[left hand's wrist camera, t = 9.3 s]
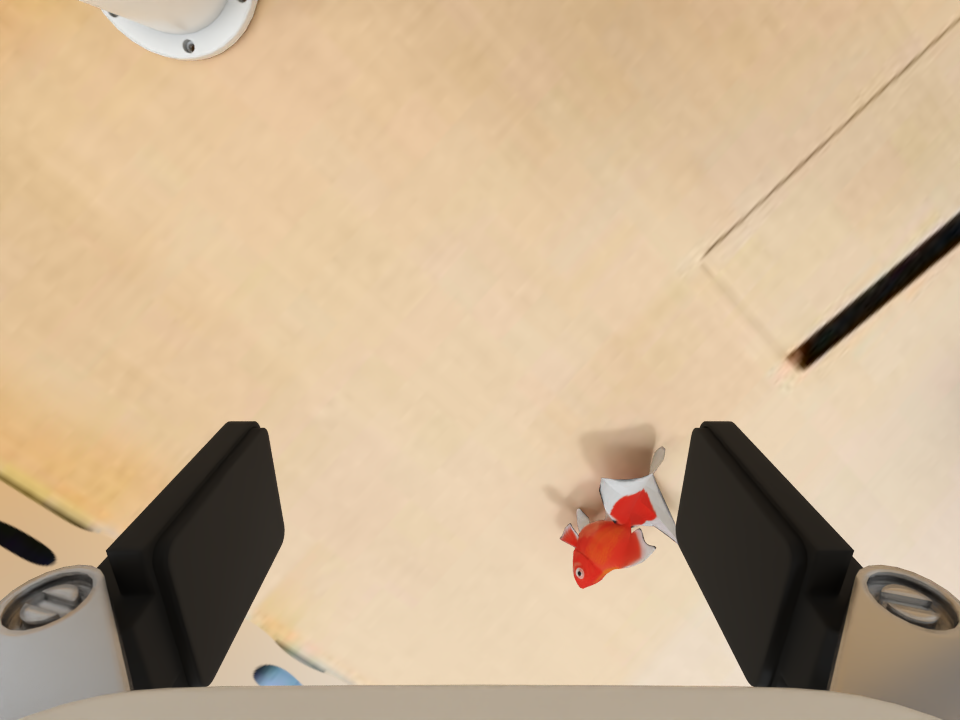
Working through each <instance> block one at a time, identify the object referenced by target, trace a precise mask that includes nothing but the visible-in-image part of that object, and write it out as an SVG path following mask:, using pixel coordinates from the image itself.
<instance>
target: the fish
mask: <svg viewBox="0 0 960 720" xmlns="http://www.w3.org/2000/svg"><path fill="white" fill-rule="evenodd" d="M664 455H665V448H664V447H660V448H659V449H658V450H657V451H656V452H655V454H654V457H653V460H652V464H651V467H650V472H649V475H647V476H645V477H642V478H636V479H629V480H614V479H606V478H601V483H600V488H599V492H600V495H601V498H602V501H603V504H604V507H605V510H606V517H605V520H598V521H594V522H591V523H589V518H588V517H587V515H585V514H584V513H583V512H582V511H581V510H580V509H577V524H578V529H579V532H580V533H579V535H578V534H577V533H576V531H575V530H574V529H573V527H572V525H571V524H568V526H567V527H566V528H565V530H564V532H563V535H562V536H561V537H560V539H561V540H562V541H564V542H566V543H568V544H570V545H571V546H573V547H575V550H574V553H573V574H574V577H575V580H576V582H577V584H578V585H579V587H580V588H582V589H583V588H586V587H588V586H591V585H593V584H596V583H597V582H599V581H600V580H602V578H603V577H604V576H605V575H606V574H607V573H609V572H610V571H612V570H614V569H621V568H627V567H631V566H635V565H637V564H639V563H642V562H643V561H644V560H646V559H647V558H648V557H649V556H650V555H651V554H652V553H653V551H654V550H655V549H656V547H655V546H650V545H648V544H647V543H646V542H645V540H644V537H643V533H642V530H641V529H640V528H639V529H637V530H635V531H634V532H633V533H631V528H632V527H636V526H639V525H642V526H655V527H656V528H657V529H659V530H660V531H662V532H663V533H664V534H666V535H667V536H668V537H670V538H671V539H672V540H673V541H675V542H676V543H677V539H676V530H675V529H676V526H675V522H674V520H673V518H672V516H671V513H670V511H669V509H668V507H667V505H666V502H665V500H664V498H663V496H662V494H661V492H660V489H659V487H658V485H657V483H656V481H655V478H654V475H653V473H654V472H655V471H656V469H657V468H658V467H659V466H660V464H661V462H662V461H663V459H664ZM677 544H678V543H677Z"/></svg>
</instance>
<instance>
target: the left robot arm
mask: <svg viewBox="0 0 960 720" xmlns="http://www.w3.org/2000/svg"><path fill="white" fill-rule="evenodd" d="M79 1H82V2H84V3H87V4H90V5H92V6H95V7H97V8H100V9H101V10H102V12H103V13H104V15H105V16H106V17H107V18H108V19H109V20H110V21H111V22H112V23H113V25H114V26H115V27H116V28H117V29H118V30H119V31H121V32H122V33H123V34H124V35H125V36H127V37H128V38H129V39H130V40H131V41H133V42H135V43H136V44H138V45H140V46H141V47H143V48H145V49H147V50H148V51H151V52H154V53H156V54H159V55H162V56H165V57H169V58H173V59H177V60H190V61H195V60H201V59H207V58H211V57H213V56H215V55H218V54H220V53H222V52H224V51H225V50H227V49H228V48H229V47H231V46H232V45H233V44H235V43H236V41H237V40H238V39H239V38H240V37H241V36H242V34H243V33H244V32H245V31H246V29H247V27H248V25H249V23H250V21H251V19H252V17H253V15H254V11H255V8H256V5H257V1H258V0H246V1H245V2H244V0H79ZM193 45H194V46H195V49H194V51H193V50H192V46H193ZM284 530H285V529H284V522H283V516H282V510H281V504H280V499H279V493H278V487H277V481H276V476H275V470H274V464H273V458H272V453H271V447H270V441H269V435H268V432H267V430H266V429H265V428H260V426H259V424H258V423H257V422H256V421H230V422H227V423H226V424H225V425H224V426H223V427H222V428H221V429H220V430H219V431H218V432H217V433H216V434H215V435H214V436H213V437H212V439H211V440H210V441H209V442H208V443H207V444H206V445H205V446H204V447H203V448H202V449H201V450H200V451H199V452H198V453H197V454H196V456H195V457H194V458H193V459H192V460H191V461H190V462H189V463H188V464H187V465H186V466H185V467H184V468H183V469H182V470H181V471H180V472H179V474H178V475H177V476H176V477H175V478H174V479H173V480H172V481H171V482H170V483H169V484H168V485H167V486H166V487H165V488H164V489H163V491H162V492H161V493H160V494H159V495H158V496H157V497H156V498H155V499H154V500H153V501H152V502H151V503H150V504H149V505H148V506H147V508H146V509H145V510H144V511H143V512H142V513H141V514H140V515H139V516H138V517H137V518H136V519H135V520H134V521H133V522H132V523H131V524H130V526H129V527H128V528H127V529H126V530H125V531H124V532H123V533H122V534H121V535H120V536H119V537H118V538H117V539H116V540H115V541H114V543H113V544H112V545H111V546H110V547H109V548H108V549H107V550H106V552H107V555H108V556H107V558H106V559H105V560H104V561H103V562H102V563H101V564H100V565H99V566H98V567H97V568H95V567H93V566H88V565H75V566H68V567H63V568H59V569H56V570H53V571H49V572H46V573H44V574H42V575H40V576H37V577H35V578H33V579H31V580H29V581H27V582H26V583H24V584H22V585H21V586H19V587H17V588H16V589H14V590H13V591H11V592H10V593H9V594H8V595H7V596H6V597H4V598H3V599H2V600H1V601H0V720H960V601H959V600H958V599H957V598H956V597H954V596H953V595H952V594H951V593H950V592H949V591H947V590H946V589H944V588H943V587H941V586H939V585H938V584H936V583H934V582H933V581H931V580H929V579H927V578H925V577H923V576H920V575H918V574H916V573H914V572H911V571H907V570H904V569H901V568H898V567H892V566H885V565H872V566H867V567H865V568H863V567H862V566H861V565H860V564H859V563H858V562H857V561H856V560H855V559H854V558H853V556H852V555H853V552H854V550H853V549H852V548H851V547H850V546H849V545H848V544H847V543H846V541H845V540H844V539H843V538H842V537H841V536H840V535H839V534H838V533H837V532H836V531H835V530H834V529H833V528H832V527H831V526H830V524H829V523H828V522H827V521H826V520H825V519H824V518H823V517H822V516H821V515H820V514H819V513H818V512H817V511H816V510H815V509H814V508H813V506H812V505H811V504H810V503H809V502H808V501H807V500H806V499H805V498H804V497H803V496H802V495H801V494H800V493H799V492H798V491H797V489H796V488H795V487H794V486H793V485H792V484H791V483H790V482H789V481H788V480H787V479H786V478H785V477H784V476H783V475H782V474H781V472H780V471H779V470H778V469H777V468H776V467H775V466H774V465H773V464H772V463H771V462H770V461H769V460H768V459H767V458H766V457H765V456H764V454H763V453H762V452H761V451H760V450H759V449H758V448H757V447H756V446H755V445H754V444H753V443H752V442H751V441H750V440H749V439H748V437H747V436H746V435H745V434H744V433H743V432H742V431H741V430H740V429H739V428H738V427H737V426H736V425H735V424H734V423H733V422H730V421H704V422H703V423H702V424H701V426H700V428H695V429H694V430H693V432H692V435H691V441H690V447H689V453H688V458H687V464H686V470H685V476H684V481H683V487H682V493H681V499H680V504H679V510H678V516H677V522H676V529H675V530H676V539H677V543H678V545H679V547H680V549H681V551H682V553H683V555H684V557H685V559H686V561H687V563H688V565H689V567H690V569H691V571H692V573H693V575H694V577H695V579H696V581H697V583H698V585H699V587H700V589H701V591H702V593H703V595H704V597H705V599H706V600H707V602H708V604H709V606H710V608H711V610H712V612H713V614H714V616H715V618H716V620H717V622H718V624H719V626H720V628H721V630H722V632H723V634H724V636H725V638H726V640H727V642H728V644H729V646H730V648H731V650H732V652H733V654H734V656H735V658H736V660H737V662H738V664H739V666H740V668H741V670H742V671H743V673H744V675H745V677H746V679H747V681H748V682H749V684H750V685H751V686H753V687H740V686H623V685H340V686H339V685H337V686H220V687H207V686H209V685H210V684H211V682H212V681H213V679H214V677H215V675H216V673H217V671H218V669H219V667H220V665H221V664H222V662H223V660H224V658H225V656H226V654H227V652H228V650H229V648H230V646H231V644H232V642H233V640H234V638H235V636H236V634H237V632H238V630H239V628H240V626H241V624H242V622H243V620H244V618H245V616H246V614H247V612H248V610H249V608H250V606H251V604H252V602H253V600H254V599H255V597H256V595H257V593H258V591H259V589H260V587H261V585H262V583H263V581H264V579H265V577H266V575H267V573H268V571H269V569H270V567H271V565H272V563H273V561H274V559H275V557H276V555H277V553H278V551H279V549H280V547H281V545H282V543H283V539H284Z"/></svg>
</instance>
